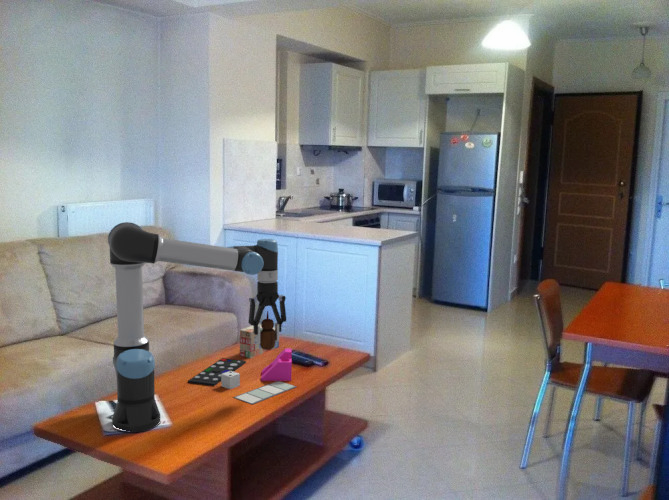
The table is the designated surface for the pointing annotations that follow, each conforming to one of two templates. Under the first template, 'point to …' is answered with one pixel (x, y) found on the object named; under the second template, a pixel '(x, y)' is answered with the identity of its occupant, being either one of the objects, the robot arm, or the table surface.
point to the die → (230, 379)
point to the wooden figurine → (267, 334)
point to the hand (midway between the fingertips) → (267, 341)
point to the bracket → (279, 367)
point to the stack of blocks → (251, 343)
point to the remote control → (216, 372)
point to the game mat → (264, 392)
